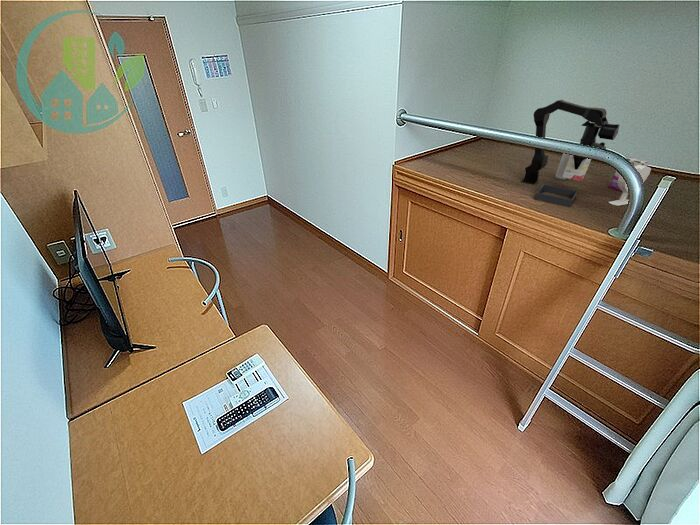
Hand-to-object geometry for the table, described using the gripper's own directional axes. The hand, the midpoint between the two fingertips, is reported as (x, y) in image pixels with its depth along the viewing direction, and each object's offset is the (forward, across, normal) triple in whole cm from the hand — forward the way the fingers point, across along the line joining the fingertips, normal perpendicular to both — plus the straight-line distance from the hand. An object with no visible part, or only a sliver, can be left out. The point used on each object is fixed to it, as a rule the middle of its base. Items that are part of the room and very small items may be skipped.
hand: (577, 167), depth 167 cm
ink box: (+6, 0, 0) cm, 6 cm away
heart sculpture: (+13, -1, -24) cm, 27 cm away
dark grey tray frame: (+13, -15, +3) cm, 20 cm away
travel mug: (+13, +21, +8) cm, 26 cm away
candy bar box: (+13, +20, -22) cm, 33 cm away
